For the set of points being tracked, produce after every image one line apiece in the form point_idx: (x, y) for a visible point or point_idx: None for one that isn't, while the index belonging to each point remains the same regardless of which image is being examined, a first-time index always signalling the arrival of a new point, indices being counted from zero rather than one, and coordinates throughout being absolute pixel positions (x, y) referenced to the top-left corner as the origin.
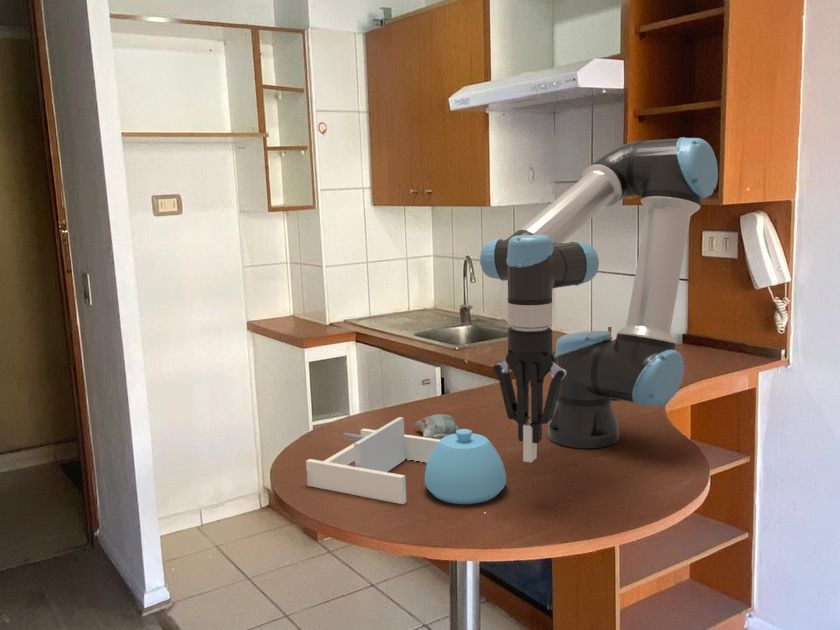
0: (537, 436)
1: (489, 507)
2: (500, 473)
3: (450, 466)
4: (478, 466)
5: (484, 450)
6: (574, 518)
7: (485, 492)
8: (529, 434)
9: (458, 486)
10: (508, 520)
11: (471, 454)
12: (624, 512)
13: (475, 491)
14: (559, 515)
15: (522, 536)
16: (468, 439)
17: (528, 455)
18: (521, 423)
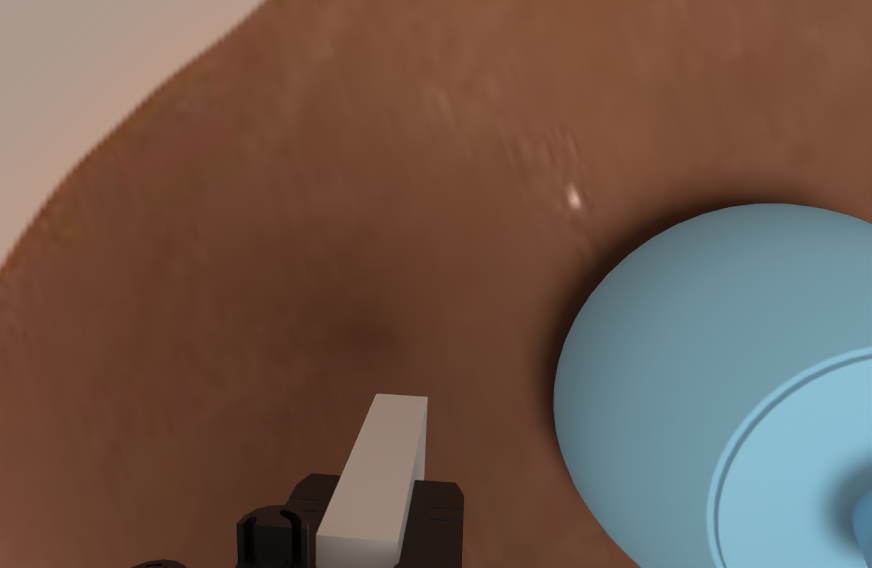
0: (298, 503)
1: (570, 251)
2: (575, 409)
3: (859, 261)
4: (687, 322)
5: (701, 437)
6: (217, 273)
7: (606, 279)
8: (350, 489)
9: (745, 217)
10: (453, 160)
11: (768, 355)
12: (69, 387)
13: (650, 247)
14: (278, 279)
15: (351, 38)
16: (863, 509)
17: (388, 412)
18: (416, 560)
